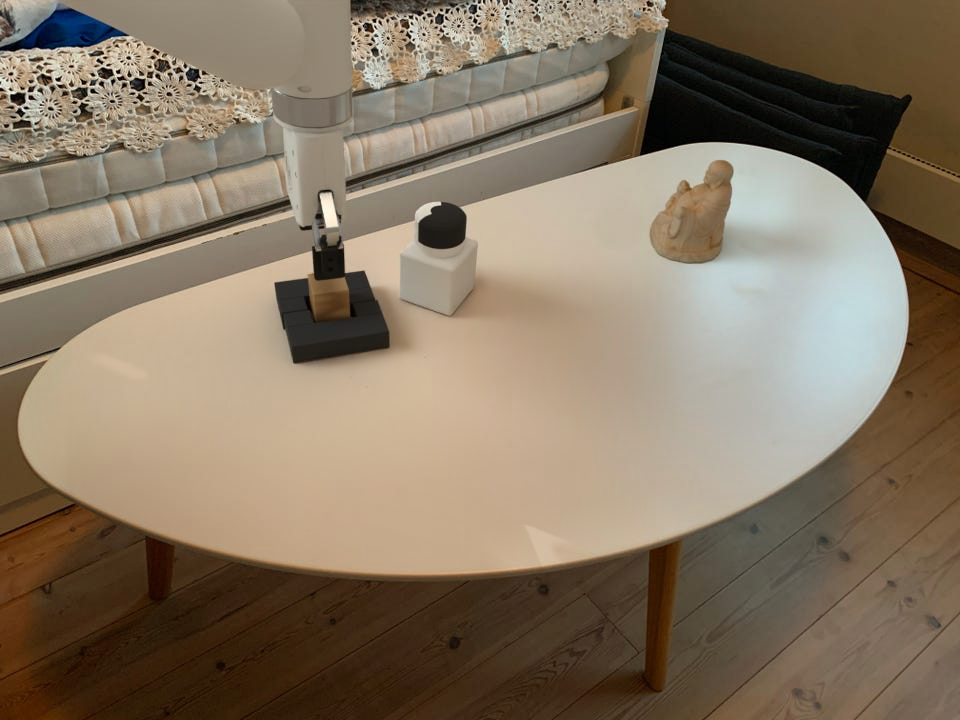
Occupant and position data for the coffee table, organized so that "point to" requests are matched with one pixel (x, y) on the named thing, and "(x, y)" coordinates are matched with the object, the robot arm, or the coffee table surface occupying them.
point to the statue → (695, 217)
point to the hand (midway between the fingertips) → (321, 252)
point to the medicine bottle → (438, 259)
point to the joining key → (328, 299)
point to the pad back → (298, 299)
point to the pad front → (336, 333)
